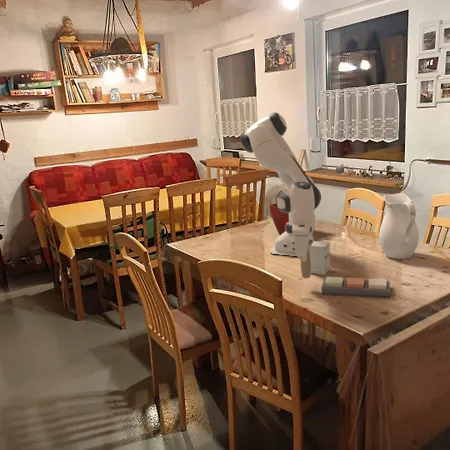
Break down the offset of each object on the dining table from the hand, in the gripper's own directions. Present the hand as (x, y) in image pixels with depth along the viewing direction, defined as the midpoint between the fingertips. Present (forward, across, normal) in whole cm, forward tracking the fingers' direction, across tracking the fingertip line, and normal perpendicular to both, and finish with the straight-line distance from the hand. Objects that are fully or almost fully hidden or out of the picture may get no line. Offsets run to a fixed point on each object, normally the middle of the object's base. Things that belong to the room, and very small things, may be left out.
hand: (305, 258), depth 181 cm
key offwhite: (+11, +1, +27) cm, 29 cm away
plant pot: (+13, -81, -17) cm, 84 cm away
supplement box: (+13, -20, +3) cm, 24 cm away
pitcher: (+14, -40, +38) cm, 56 cm away
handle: (+8, 0, 0) cm, 8 cm away
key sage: (+11, 0, +11) cm, 15 cm away
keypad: (+13, 0, +19) cm, 23 cm away
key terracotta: (+11, 0, +19) cm, 22 cm away
